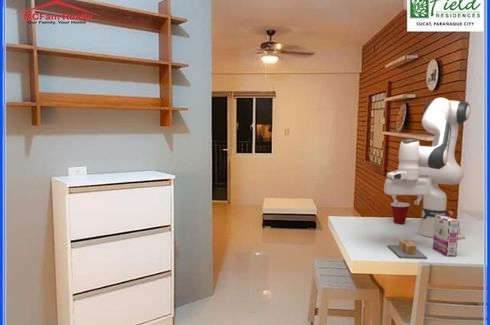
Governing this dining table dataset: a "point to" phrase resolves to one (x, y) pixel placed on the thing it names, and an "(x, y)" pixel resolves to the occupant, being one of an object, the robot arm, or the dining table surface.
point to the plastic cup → (400, 212)
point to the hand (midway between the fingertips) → (406, 204)
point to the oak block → (407, 247)
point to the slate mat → (403, 255)
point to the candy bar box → (445, 235)
